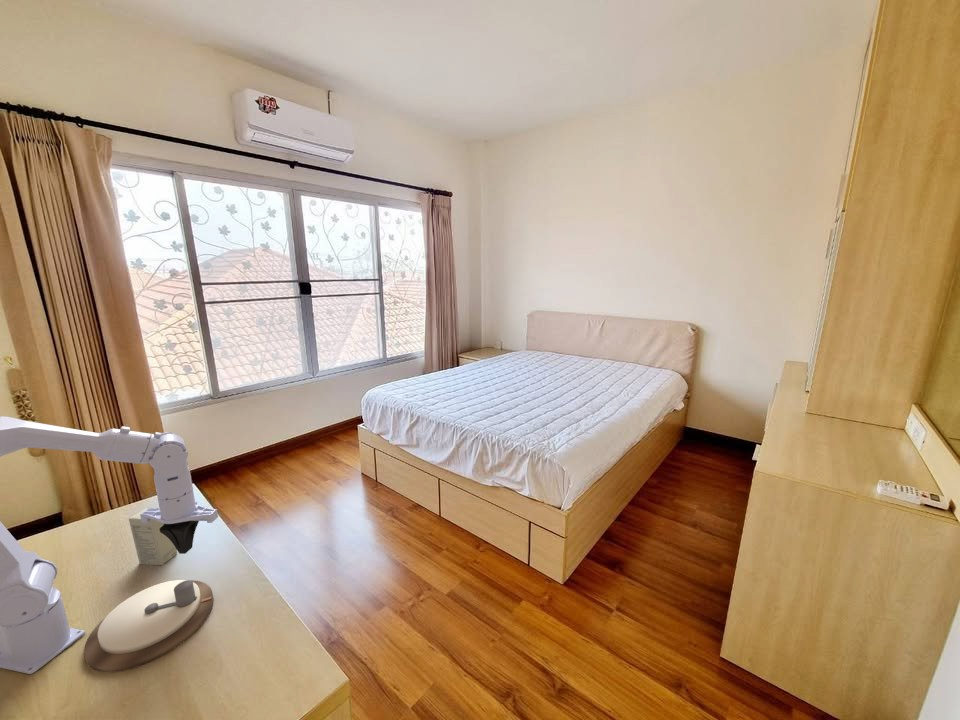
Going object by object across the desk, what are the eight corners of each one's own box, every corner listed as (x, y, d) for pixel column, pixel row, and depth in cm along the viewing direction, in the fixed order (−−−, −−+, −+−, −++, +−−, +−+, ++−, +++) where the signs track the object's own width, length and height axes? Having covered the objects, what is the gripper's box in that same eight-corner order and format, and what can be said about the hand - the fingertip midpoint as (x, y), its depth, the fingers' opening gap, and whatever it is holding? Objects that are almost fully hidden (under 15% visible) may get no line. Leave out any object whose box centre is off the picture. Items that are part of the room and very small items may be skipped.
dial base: (54, 662, 67) (53, 655, 66) (160, 579, 85) (159, 574, 85) (146, 681, 64) (145, 674, 63) (235, 591, 82) (234, 585, 82)
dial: (80, 666, 64) (73, 641, 63) (122, 598, 78) (118, 577, 77) (187, 636, 70) (183, 613, 69) (209, 578, 84) (206, 558, 82)
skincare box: (178, 553, 93) (170, 508, 91) (162, 566, 89) (153, 519, 86) (154, 551, 94) (145, 506, 91) (137, 564, 90) (127, 517, 87)
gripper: (223, 482, 82) (232, 538, 85) (156, 481, 82) (167, 537, 85) (199, 501, 75) (209, 561, 78) (126, 500, 75) (139, 560, 78)
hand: (185, 550), depth 81 cm, fingers closed
